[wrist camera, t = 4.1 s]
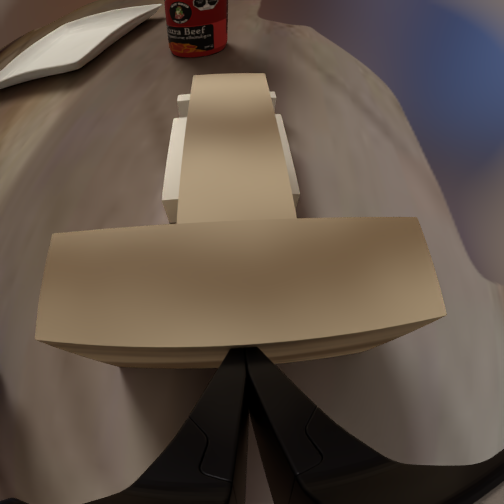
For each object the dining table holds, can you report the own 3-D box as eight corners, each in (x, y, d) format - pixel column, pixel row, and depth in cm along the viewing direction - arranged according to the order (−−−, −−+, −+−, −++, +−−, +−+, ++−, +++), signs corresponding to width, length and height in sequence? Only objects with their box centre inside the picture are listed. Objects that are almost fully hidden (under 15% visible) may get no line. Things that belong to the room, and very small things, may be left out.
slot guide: (293, 216, 19) (300, 193, 17) (169, 223, 19) (161, 200, 17) (271, 113, 25) (274, 91, 22) (181, 117, 24) (178, 95, 22)
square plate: (165, 17, 41) (164, 1, 38) (83, 83, 29) (75, 60, 25) (67, 33, 42) (64, 21, 39) (-13, 102, 30) (-20, 88, 26)
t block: (362, 351, 15) (446, 315, 8) (118, 366, 14) (34, 339, 7) (320, 166, 22) (347, 80, 15) (139, 173, 21) (110, 87, 14)
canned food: (158, 56, 30) (149, -15, 21) (190, 36, 34) (187, -26, 24) (208, 61, 29) (206, -18, 20) (236, 41, 33) (239, -26, 23)
